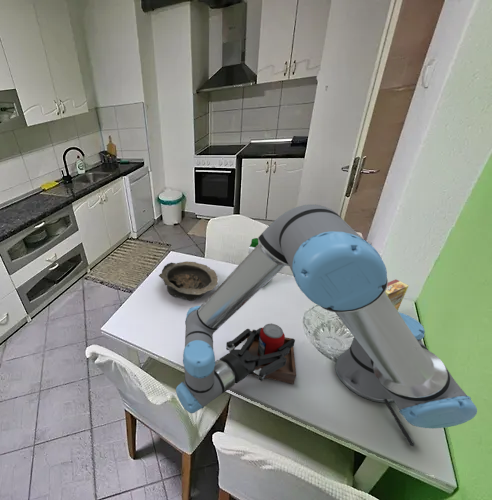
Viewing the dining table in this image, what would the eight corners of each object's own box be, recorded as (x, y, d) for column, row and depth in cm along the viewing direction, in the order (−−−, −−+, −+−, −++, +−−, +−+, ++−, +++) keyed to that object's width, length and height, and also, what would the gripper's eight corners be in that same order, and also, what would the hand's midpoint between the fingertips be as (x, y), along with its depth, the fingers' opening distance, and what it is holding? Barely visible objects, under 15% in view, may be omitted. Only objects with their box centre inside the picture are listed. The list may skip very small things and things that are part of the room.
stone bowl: (150, 294, 123) (148, 277, 119) (181, 269, 139) (181, 253, 135) (199, 315, 108) (199, 296, 104) (227, 285, 124) (229, 267, 120)
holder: (293, 384, 81) (296, 375, 79) (244, 373, 86) (245, 364, 84) (290, 347, 91) (292, 338, 89) (246, 339, 96) (247, 330, 94)
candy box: (374, 329, 93) (389, 294, 85) (362, 320, 97) (375, 286, 89) (393, 320, 95) (410, 285, 87) (380, 312, 99) (395, 278, 91)
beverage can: (259, 345, 92) (262, 319, 86) (281, 352, 89) (287, 325, 82) (255, 361, 87) (258, 334, 81) (278, 369, 84) (284, 342, 78)
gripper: (203, 355, 87) (255, 323, 96) (253, 408, 72) (310, 364, 80) (203, 339, 83) (257, 307, 92) (256, 391, 68) (315, 347, 76)
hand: (282, 334), depth 86 cm, fingers closed on beverage can, 7 cm apart
